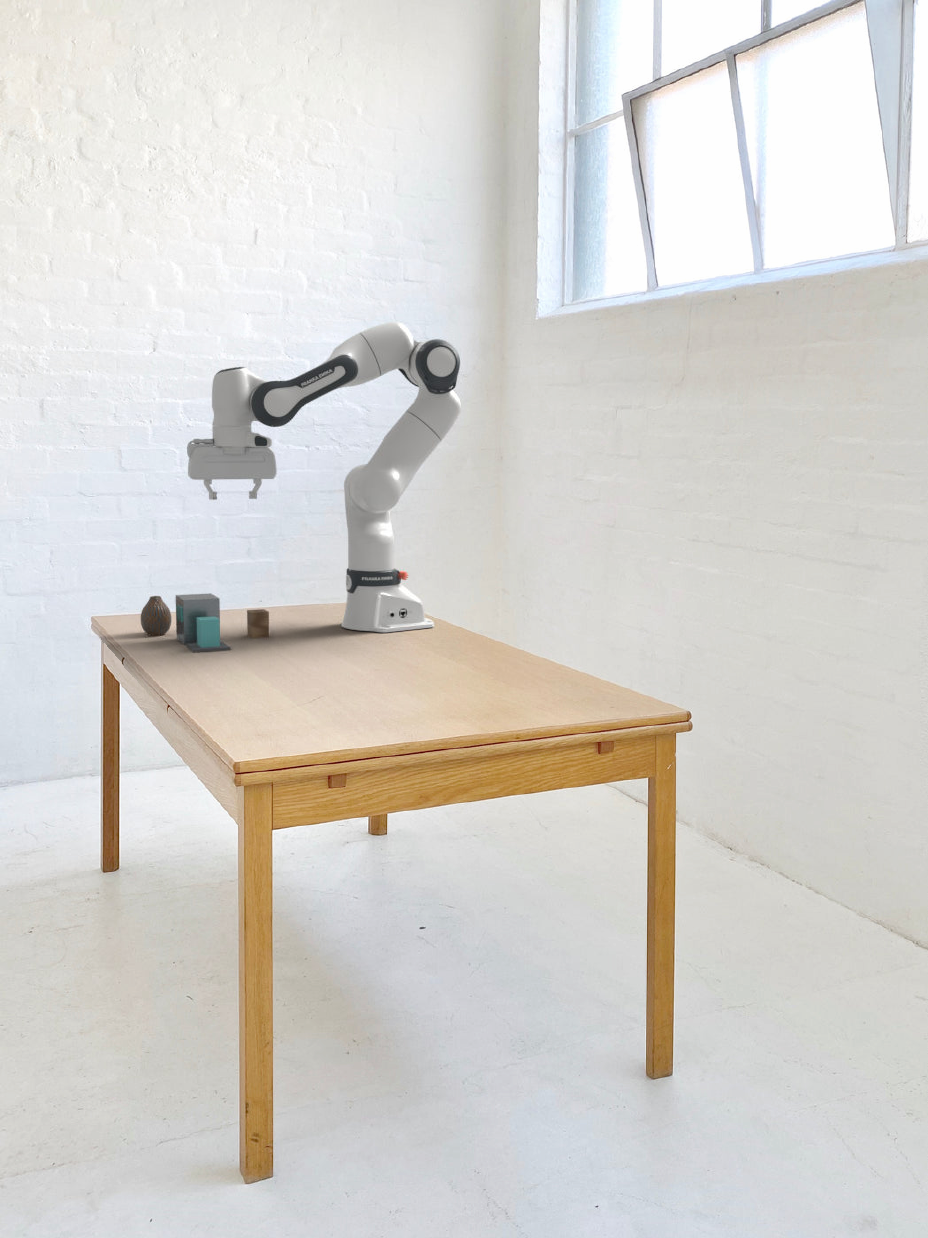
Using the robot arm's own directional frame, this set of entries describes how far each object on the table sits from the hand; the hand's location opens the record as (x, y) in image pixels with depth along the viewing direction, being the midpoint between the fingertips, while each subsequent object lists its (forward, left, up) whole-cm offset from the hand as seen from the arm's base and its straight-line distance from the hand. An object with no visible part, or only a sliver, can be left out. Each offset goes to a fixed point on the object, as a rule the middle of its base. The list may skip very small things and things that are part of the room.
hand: (233, 499), depth 277 cm
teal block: (+11, +19, -30) cm, 37 cm away
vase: (+18, -2, -31) cm, 36 cm away
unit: (+11, +9, -31) cm, 34 cm away
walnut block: (-3, +9, -31) cm, 32 cm away
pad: (+11, +19, -31) cm, 38 cm away
